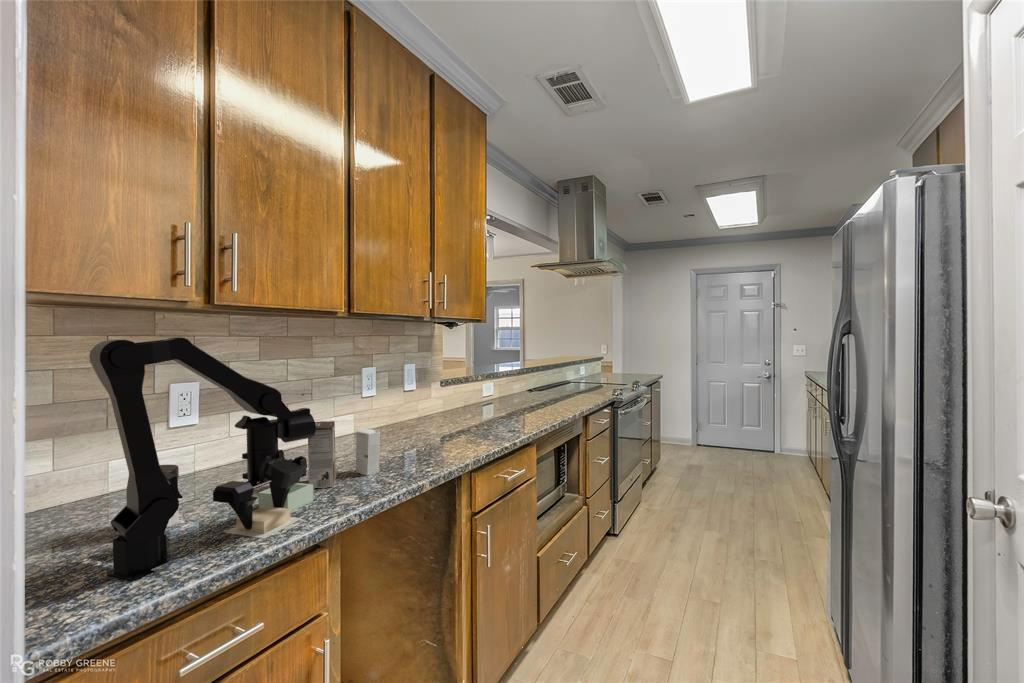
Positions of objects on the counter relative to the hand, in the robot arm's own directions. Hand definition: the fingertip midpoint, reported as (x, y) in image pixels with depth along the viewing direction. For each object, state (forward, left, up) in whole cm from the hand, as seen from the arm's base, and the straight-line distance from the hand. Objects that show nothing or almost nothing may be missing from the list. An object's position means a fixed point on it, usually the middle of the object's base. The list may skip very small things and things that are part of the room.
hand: (264, 521), depth 96 cm
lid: (0, 0, -1) cm, 1 cm away
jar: (-6, +23, -2) cm, 24 cm away
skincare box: (+39, +2, -2) cm, 40 cm away
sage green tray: (+10, +4, -1) cm, 11 cm away
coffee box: (+27, +8, -2) cm, 29 cm away
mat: (0, 0, -1) cm, 1 cm away
